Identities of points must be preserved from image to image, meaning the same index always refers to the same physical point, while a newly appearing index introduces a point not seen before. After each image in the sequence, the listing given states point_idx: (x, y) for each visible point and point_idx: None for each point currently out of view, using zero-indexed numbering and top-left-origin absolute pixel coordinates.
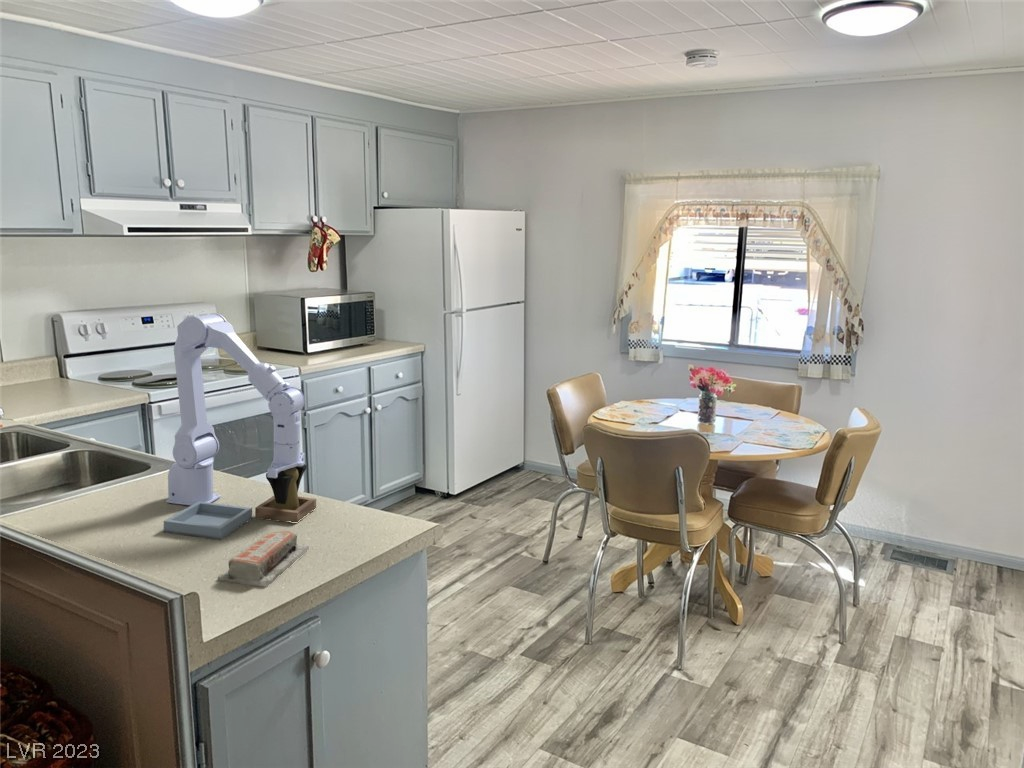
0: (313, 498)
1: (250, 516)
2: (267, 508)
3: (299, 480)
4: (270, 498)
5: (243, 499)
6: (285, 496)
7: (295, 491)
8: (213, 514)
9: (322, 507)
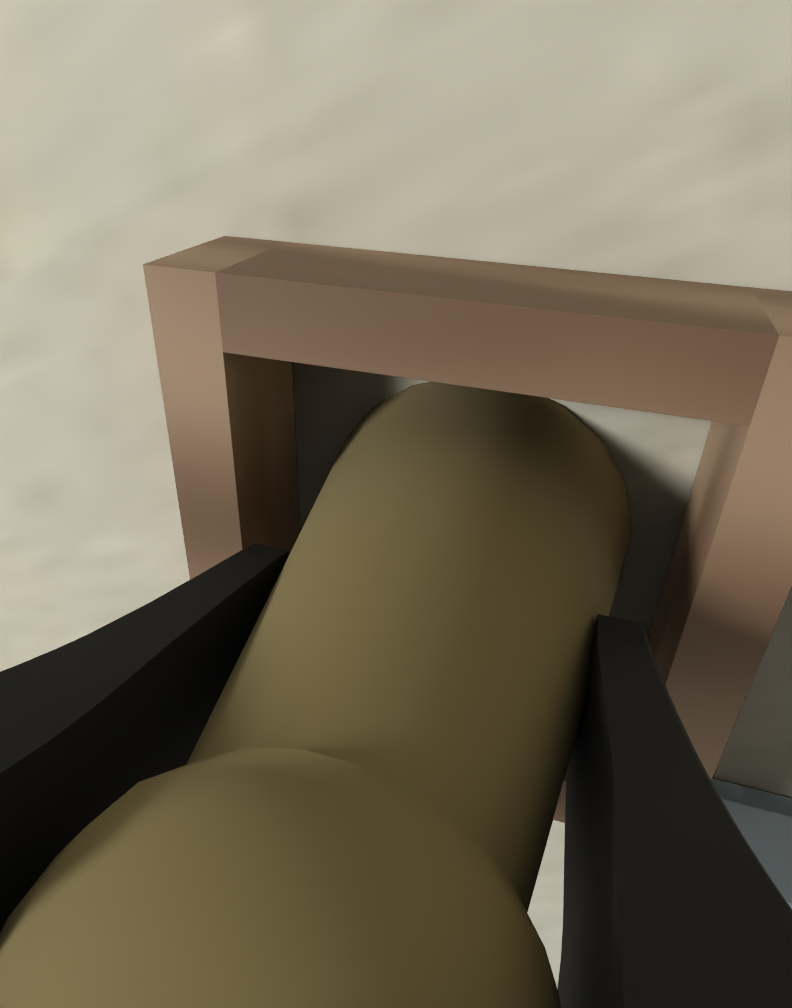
0: (152, 310)
1: (734, 813)
2: None
3: (99, 670)
4: None
5: None
6: (673, 707)
7: (413, 606)
8: None
9: (143, 175)
